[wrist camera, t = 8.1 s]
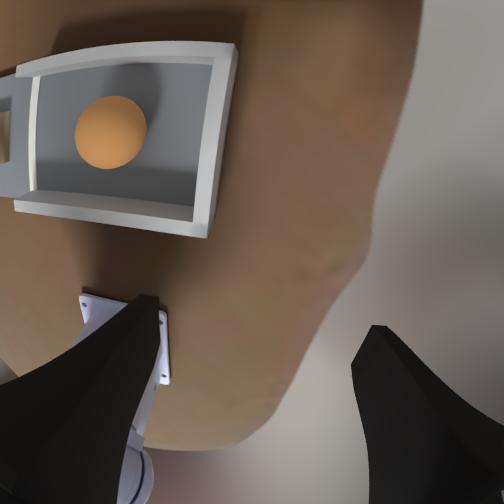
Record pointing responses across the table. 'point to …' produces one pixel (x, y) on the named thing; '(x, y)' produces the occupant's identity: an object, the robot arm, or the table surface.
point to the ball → (110, 132)
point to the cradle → (4, 136)
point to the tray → (155, 145)
